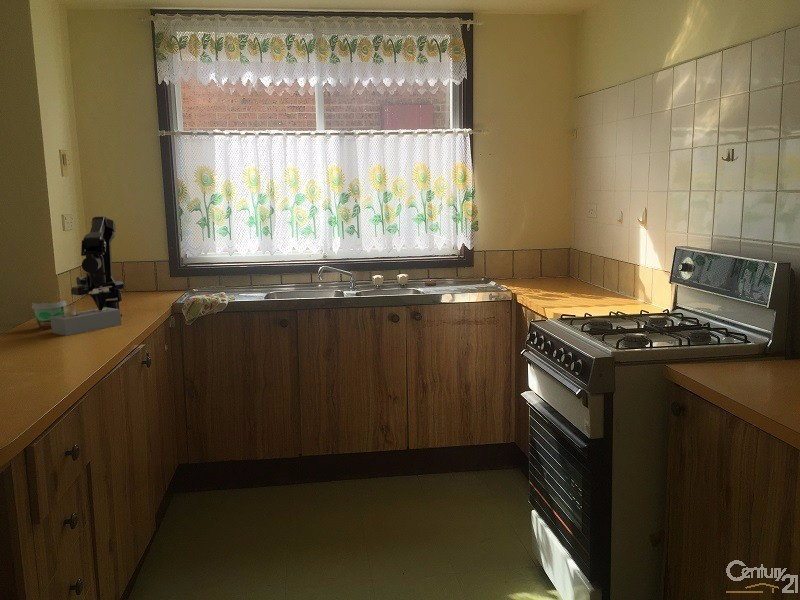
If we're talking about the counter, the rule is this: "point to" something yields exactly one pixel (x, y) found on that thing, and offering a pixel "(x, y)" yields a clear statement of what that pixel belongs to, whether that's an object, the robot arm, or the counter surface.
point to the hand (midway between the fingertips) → (100, 310)
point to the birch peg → (69, 311)
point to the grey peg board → (85, 321)
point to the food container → (47, 313)
